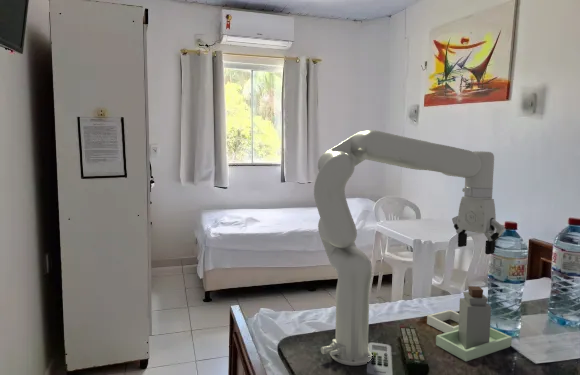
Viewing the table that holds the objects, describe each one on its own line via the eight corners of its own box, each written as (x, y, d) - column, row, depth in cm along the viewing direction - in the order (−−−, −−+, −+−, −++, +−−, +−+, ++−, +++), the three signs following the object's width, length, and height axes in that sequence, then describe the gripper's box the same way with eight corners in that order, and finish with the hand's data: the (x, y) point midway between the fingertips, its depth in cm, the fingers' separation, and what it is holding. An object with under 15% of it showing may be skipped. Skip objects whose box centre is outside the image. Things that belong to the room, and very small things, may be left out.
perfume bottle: (480, 340, 129) (482, 284, 127) (488, 350, 122) (491, 292, 121) (458, 339, 130) (460, 284, 128) (465, 349, 123) (468, 291, 121)
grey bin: (452, 336, 132) (453, 328, 132) (427, 323, 142) (427, 315, 141) (476, 330, 137) (476, 321, 137) (449, 317, 147) (450, 309, 146)
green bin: (465, 361, 117) (466, 351, 116) (435, 344, 127) (436, 335, 126) (511, 346, 126) (511, 336, 125) (480, 331, 136) (480, 323, 135)
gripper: (446, 191, 127) (443, 245, 129) (496, 197, 112) (492, 258, 113) (462, 189, 130) (460, 242, 132) (513, 195, 115) (510, 255, 117)
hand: (475, 249), depth 123 cm, fingers open, 9 cm apart
